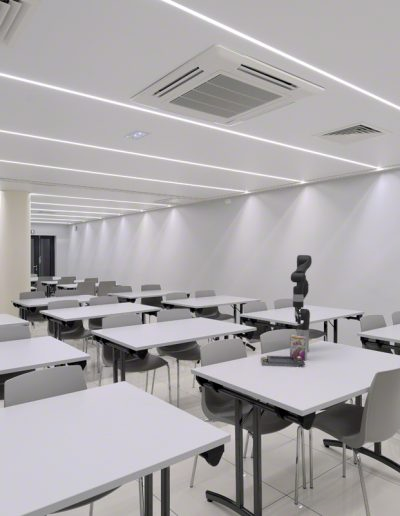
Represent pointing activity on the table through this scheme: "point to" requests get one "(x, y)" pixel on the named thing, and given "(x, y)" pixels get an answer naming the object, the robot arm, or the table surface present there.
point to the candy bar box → (298, 346)
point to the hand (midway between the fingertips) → (298, 323)
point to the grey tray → (282, 361)
